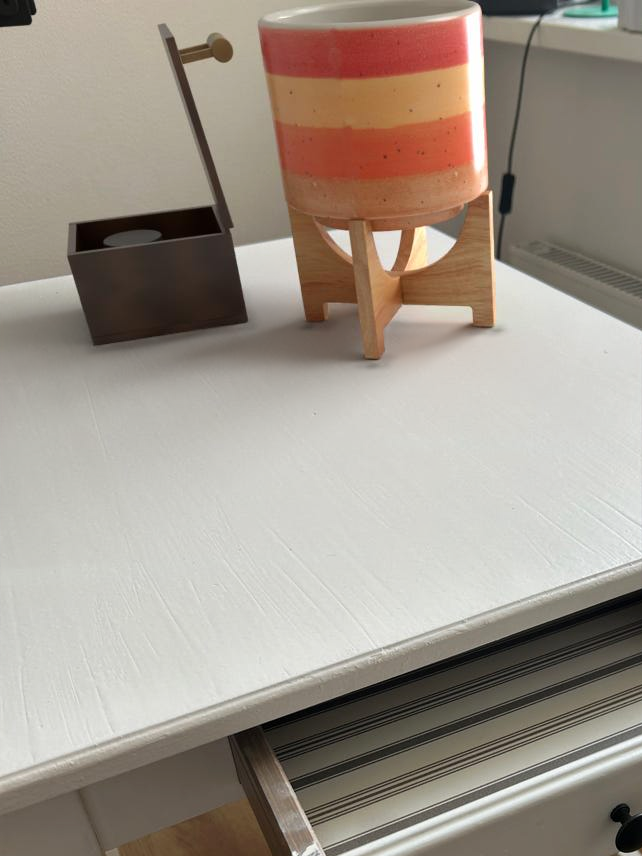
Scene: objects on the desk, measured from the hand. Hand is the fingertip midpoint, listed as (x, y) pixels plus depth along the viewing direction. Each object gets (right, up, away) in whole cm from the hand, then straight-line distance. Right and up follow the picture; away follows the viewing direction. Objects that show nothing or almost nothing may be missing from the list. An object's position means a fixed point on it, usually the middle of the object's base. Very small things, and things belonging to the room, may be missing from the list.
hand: (16, 20), depth 86 cm
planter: (+33, -22, +14) cm, 42 cm away
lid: (+12, -4, +10) cm, 16 cm away
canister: (+5, -19, +19) cm, 27 cm away
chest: (+7, -19, +19) cm, 28 cm away
